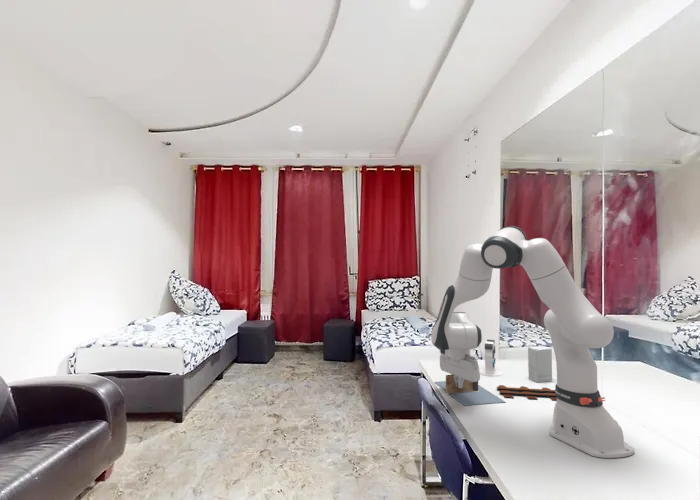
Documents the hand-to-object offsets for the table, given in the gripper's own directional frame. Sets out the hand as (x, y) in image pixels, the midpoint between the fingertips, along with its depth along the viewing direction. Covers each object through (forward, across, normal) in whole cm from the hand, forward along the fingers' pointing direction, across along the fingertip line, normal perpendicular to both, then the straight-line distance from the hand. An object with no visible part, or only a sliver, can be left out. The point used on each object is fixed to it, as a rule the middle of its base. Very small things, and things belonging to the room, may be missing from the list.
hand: (459, 387), depth 155 cm
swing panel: (+3, +3, -2) cm, 5 cm away
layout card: (+3, +3, -6) cm, 8 cm away
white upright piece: (+3, +19, -35) cm, 40 cm away
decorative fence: (+4, -9, -28) cm, 29 cm away
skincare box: (+3, +1, -47) cm, 47 cm away
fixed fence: (+3, +8, -11) cm, 14 cm away
